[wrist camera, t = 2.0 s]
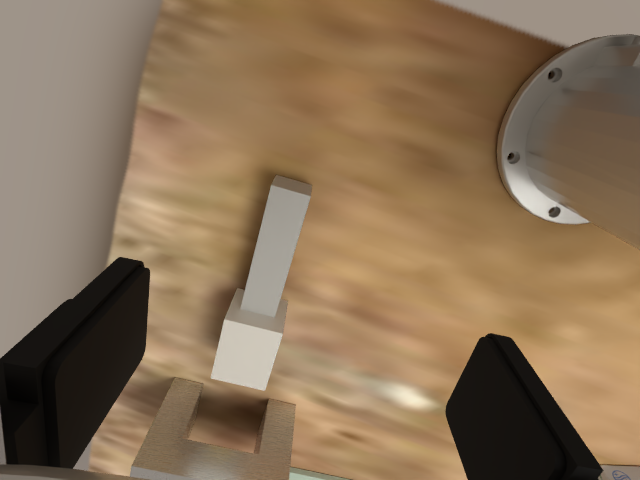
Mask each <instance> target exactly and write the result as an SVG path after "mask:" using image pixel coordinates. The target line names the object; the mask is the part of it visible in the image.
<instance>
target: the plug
mask: <svg viewBox="0 0 640 480" xmlns="http://www.w3.org/2000/svg"><path fill="white" fill-rule="evenodd" d="M311 190H312V185H310V184H306V183H303V182H299V181H296V180H293V179H289V178H286V177H282V176H279V175H276V176H275V178H274V180H273V182H272V184H271V188H270V192H269V196H268V200H267V204H266V208H265V212H264V216H263V220H262V224H261V228H260V232H259V236H258V240H257V244H256V248H255V252H254V256H253V260H252V264H251V268H250V272H249V276H248V280H247V284H246V288H245V290H243V289H239V288H237V290H236V292H235V294H234V297H233V299H232V302H231V304H230V307H229V309H228V312H227V314H226V317H225V319H224V323H223V327H222V332H221V336H220V340H219V345H218V349H217V353H216V357H215V362H214V366H213V370H212V375H211V379H216V380H220V381H224V382H229V383H233V384H237V385H242V386H246V387H250V388H255V389H259V390H264V391H265V389H266V386H267V383H268V380H269V376H270V373H271V370H272V367H273V364H274V360H275V357H276V354H277V351H278V348H279V344H280V341H281V338H282V335H283V330H284V324H285V318H286V312H287V305H288V301H286V300H282V299H280V298H281V295H282V292H283V288H284V285H285V281H286V278H287V275H288V271H289V268H290V265H291V261H292V258H293V255H294V251H295V248H296V244H297V241H298V238H299V234H300V231H301V228H302V224H303V221H304V217H305V214H306V211H307V207H308V204H309V201H310V197H311Z"/></svg>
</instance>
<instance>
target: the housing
mask: <svg viewBox="0 0 640 480" xmlns="http://www.w3.org/2000/svg"><path fill="white" fill-rule="evenodd" d="M202 388H203V384H202V383H197V382H193V381H189V380H184V379H180V378H174V380H173V382H172V384H171V387H170V389H169V391H168V393H167V395H166V397H165V399H164V401H163V403H162V405H161V407H160V409H159V411H158V413H157V415H156V417H155V419H154V421H153V423H152V425H151V427H150V429H149V431H148V433H147V435H146V437H145V440H144V442H143V444H142V446H141V448H140V450H139V452H138V454H137V456H136V458H135V460H134V462H133V464H132V466H131V473H130V477H135V478H143V479H150V480H289V475H290V463H291V452H292V441H293V430H294V419H295V408H296V405H294V404H290V403H285V402H281V401H276V400H272V399H269V400H268V403H267V406H266V409H265V412H264V415H263V418H262V421H261V424H260V428H259V431H258V434H257V439H256V445H255V450H254V454H253V453H249V452H244V451H239V450H234V449H230V448H225V447H220V446H215V445H211V444H206V443H201V442H197V441H192V440H188V438H189V435H190V433H191V430H192V427H193V425H194V422H195V419H196V415H197V410H198V406H199V401H200V397H201V392H202Z"/></svg>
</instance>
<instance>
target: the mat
mask: <svg viewBox="0 0 640 480" xmlns="http://www.w3.org/2000/svg"><path fill="white" fill-rule="evenodd" d="M289 480H350V479H345V478H341V477H336V476H331V475H326V474H322V473H317V472H312V471H307V470H302V469H298V468H293V467H290V475H289Z"/></svg>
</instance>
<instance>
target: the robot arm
mask: <svg viewBox="0 0 640 480" xmlns="http://www.w3.org/2000/svg"><path fill="white" fill-rule="evenodd" d="M549 72H551V76H550V78H549V79H548V74H549ZM510 153H511V157H510V158H508V155H509V154H510ZM507 158H508V159H507ZM497 162H498V170H499V173H500V176H501V179H502V182H503V185H504V186H505V188H506V190H507V191H508V193H509V194H510V196H511V197H512V198H513V199H514V200H515V201H516V202H517V203H518V204H519V205H520V206H521V207H523V208H524V209H525V210H527V211H528V212H530V213H531V214H533V215H535V216H537V217H539V218H541V219H543V220H546V221H550V222H554V223H558V224H573V225H576V224H585V223H593V224H595V225H597V226H598V227H600V228H602V229H604V230H605V231H607V232H609V233H611V234H612V235H614V236H616V237H617V238H619V239H621V240H623V241H624V242H626V243H628V244H630V245H631V246H633V247H635V248H637V249H638V250H640V36H638V35H632V34H629V35H610V36H604V37H598V38H592V39H590V40H587V41H584V42H581V43H578V44H575V45H573V46H571V47H569V48H567V49H565V50H564V51H562V52H560V53H558V54H556V55H555V56H553V57H552V58H551V59H549V60H548V61H547V62H546V63H544V64H543V65H542V66H540V67H539V68H538V69H537V70H536V71H535V72H534V73H533V74H532V75H531V76H530V77H529V78H528V79H527V81H526V82H525V83H524V84H523V85H522V86H521V88H520V89H519V91H518V92H517V94H516V95H515V97H514V98H513V100H512V101H511V103H510V105H509V107H508V110H507V112H506V114H505V116H504V118H503V121H502V125H501V128H500V132H499V135H498V144H497ZM149 282H150V270H149V268H145V267H144V263H143V262H142V261H138V260H133V259H128V258H123V257H119V258H117V259H116V260H115V261H114V262H113V263H112V264H111V265H110V266H108V267H107V268H106V269H105V270H104V271H103V272H102V273H101V274H100V275H99V276H98V277H96V278H95V279H94V280H93V281H92V282H91V283H90V284H89V285H88V286H86V287H85V288H84V289H83V290H82V291H81V292H80V293H79V294H78V295H76V296H75V297H74V298H73V299H69V300H67V301H66V302H64V303H63V304H61V305H60V306H59V307H58V308H57V309H56V310H54V311H53V312H52V313H51V314H50V315H49V316H48V317H47V318H45V319H44V320H43V321H42V322H41V323H40V324H39V325H38V326H36V328H34V329H33V330H32V331H31V332H30V333H29V334H27V335H26V336H25V337H24V338H23V339H22V340H21V341H20V342H18V343H17V344H16V345H15V346H14V347H13V348H12V349H11V350H9V351H8V352H7V353H6V354H5V355H4V356H3V357H2V358H0V480H150V479H143V478H135V477H128V476H121V475H113V474H106V473H99V472H92V471H84V470H77V469H73V467H74V466H75V464H76V463H77V461H78V459H79V458H80V456H81V455H82V453H83V452H84V450H85V448H86V447H87V445H88V444H89V442H90V441H91V439H92V437H93V436H94V434H95V433H96V431H97V430H98V428H99V426H100V425H101V423H102V422H103V420H104V418H105V417H106V415H107V414H108V412H109V411H110V409H111V407H112V406H113V404H114V403H115V401H116V400H117V398H118V396H119V395H120V393H121V392H122V390H123V388H124V387H125V385H126V384H127V382H128V381H129V379H130V377H131V376H132V374H133V373H134V371H135V370H136V368H137V366H138V365H139V363H140V362H141V360H142V358H143V355H144V352H145V347H146V332H147V316H148V299H149ZM446 418H447V421H448V424H449V427H450V430H451V432H452V435H453V438H454V441H455V444H456V447H457V450H458V453H459V456H460V458H461V461H462V464H463V467H464V470H465V473H466V476H467V479H468V480H599V479H598V477H599V476H600V475H601V473H602V472H603V471H604V470H603V469H602V467H601V466H600V465H599V463H598V462H597V460H596V459H595V457H594V456H593V455H592V453H591V452H590V450H589V449H588V447H587V446H586V444H585V443H584V442H583V440H582V439H581V437H580V436H579V434H578V433H577V431H576V430H575V429H574V427H573V426H572V424H571V423H570V421H569V420H568V418H567V417H566V416H565V414H564V413H563V411H562V410H561V408H560V407H559V406H558V404H557V403H556V401H555V400H554V398H553V397H552V395H551V394H550V393H549V391H548V390H547V388H546V387H545V385H544V384H543V382H542V381H541V380H540V378H539V377H538V375H537V374H536V372H535V371H534V369H533V368H532V367H531V365H530V364H529V362H528V361H527V359H526V358H525V357H524V355H523V354H522V352H521V351H520V349H519V348H518V346H517V345H516V344H515V342H514V341H513V340H512V339H511V338H510V337H506V336H501V335H496V334H492V333H490V334H487V335H486V336H485V337H481V338H480V339H479V341H478V343H477V345H476V347H475V349H474V351H473V353H472V355H471V357H470V359H469V361H468V363H467V365H466V367H465V369H464V371H463V373H462V375H461V377H460V379H459V381H458V383H457V385H456V387H455V389H454V391H453V393H452V395H451V397H450V399H449V401H448V403H447V405H446Z"/></svg>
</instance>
